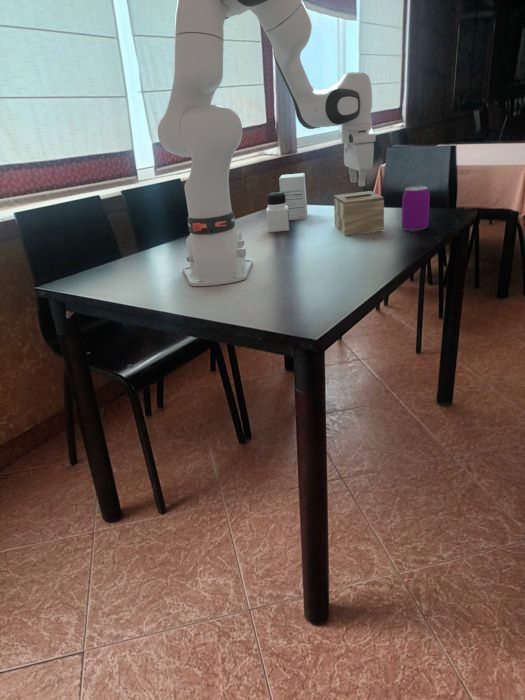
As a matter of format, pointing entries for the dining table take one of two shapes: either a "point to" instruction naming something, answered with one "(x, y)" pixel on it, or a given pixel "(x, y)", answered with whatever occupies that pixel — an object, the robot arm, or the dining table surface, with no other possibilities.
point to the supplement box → (294, 195)
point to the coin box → (359, 213)
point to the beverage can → (415, 208)
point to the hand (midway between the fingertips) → (357, 184)
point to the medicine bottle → (277, 212)
